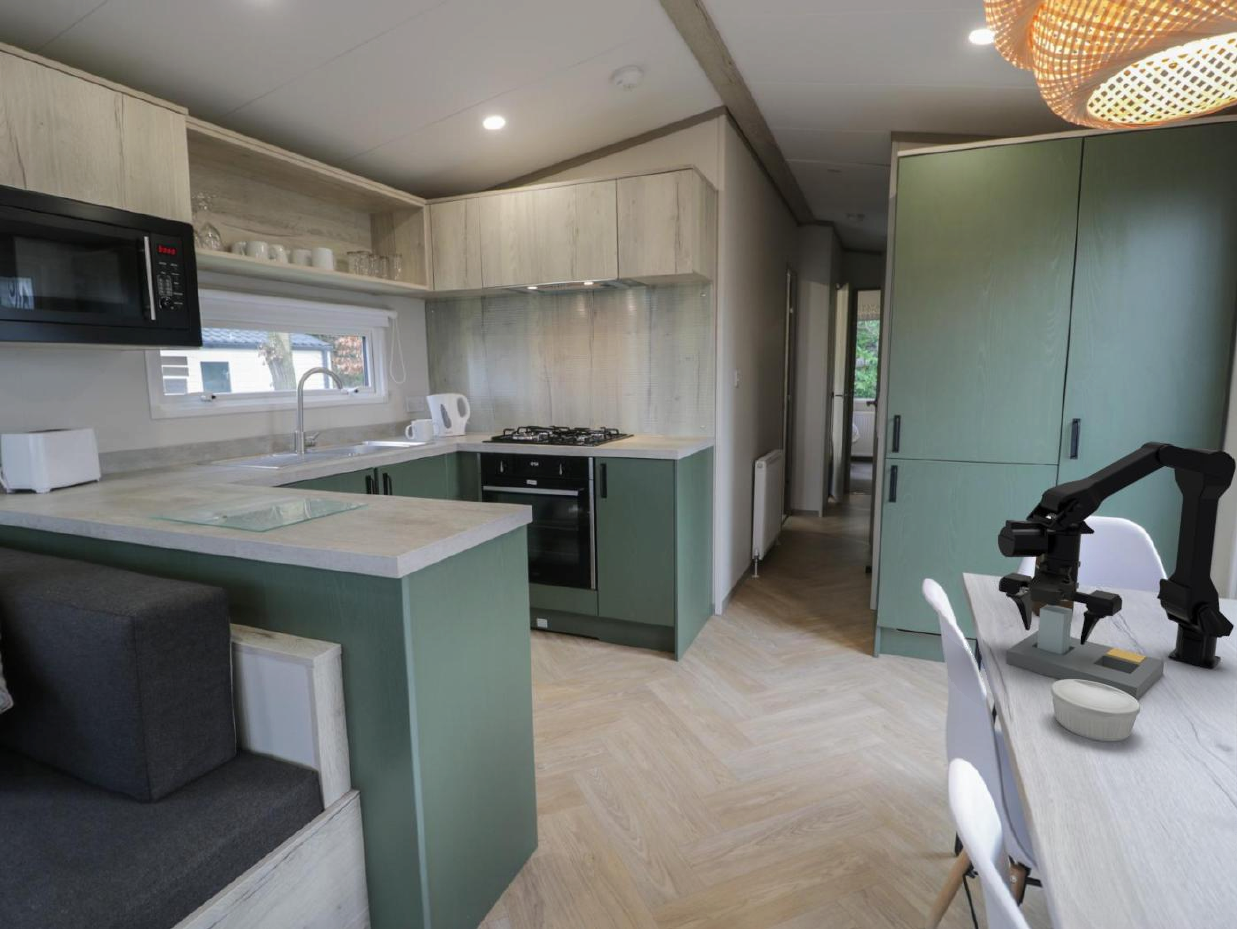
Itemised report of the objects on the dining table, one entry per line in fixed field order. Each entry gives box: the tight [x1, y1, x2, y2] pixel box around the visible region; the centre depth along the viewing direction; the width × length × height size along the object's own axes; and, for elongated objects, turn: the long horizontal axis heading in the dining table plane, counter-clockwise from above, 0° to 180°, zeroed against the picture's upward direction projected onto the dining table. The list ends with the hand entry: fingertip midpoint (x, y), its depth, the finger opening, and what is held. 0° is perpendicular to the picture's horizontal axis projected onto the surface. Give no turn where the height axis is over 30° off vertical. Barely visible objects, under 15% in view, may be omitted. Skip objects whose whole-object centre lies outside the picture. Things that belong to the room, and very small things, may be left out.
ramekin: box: [1050, 679, 1141, 743], centre depth 105 cm, size 11×11×5 cm
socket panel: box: [1005, 630, 1165, 701], centre depth 125 cm, size 16×20×3 cm
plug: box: [1037, 604, 1073, 655], centre depth 128 cm, size 4×4×10 cm
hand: (1054, 637), depth 128 cm, fingers open, 9 cm apart
